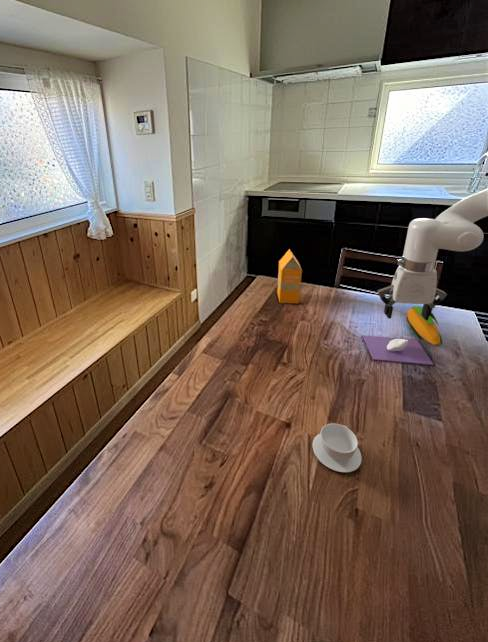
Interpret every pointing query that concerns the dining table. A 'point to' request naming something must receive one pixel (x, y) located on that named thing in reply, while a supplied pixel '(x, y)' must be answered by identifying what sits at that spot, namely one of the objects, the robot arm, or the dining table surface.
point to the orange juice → (289, 279)
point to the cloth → (408, 355)
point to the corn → (424, 326)
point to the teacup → (337, 448)
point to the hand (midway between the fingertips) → (406, 316)
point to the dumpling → (397, 345)
